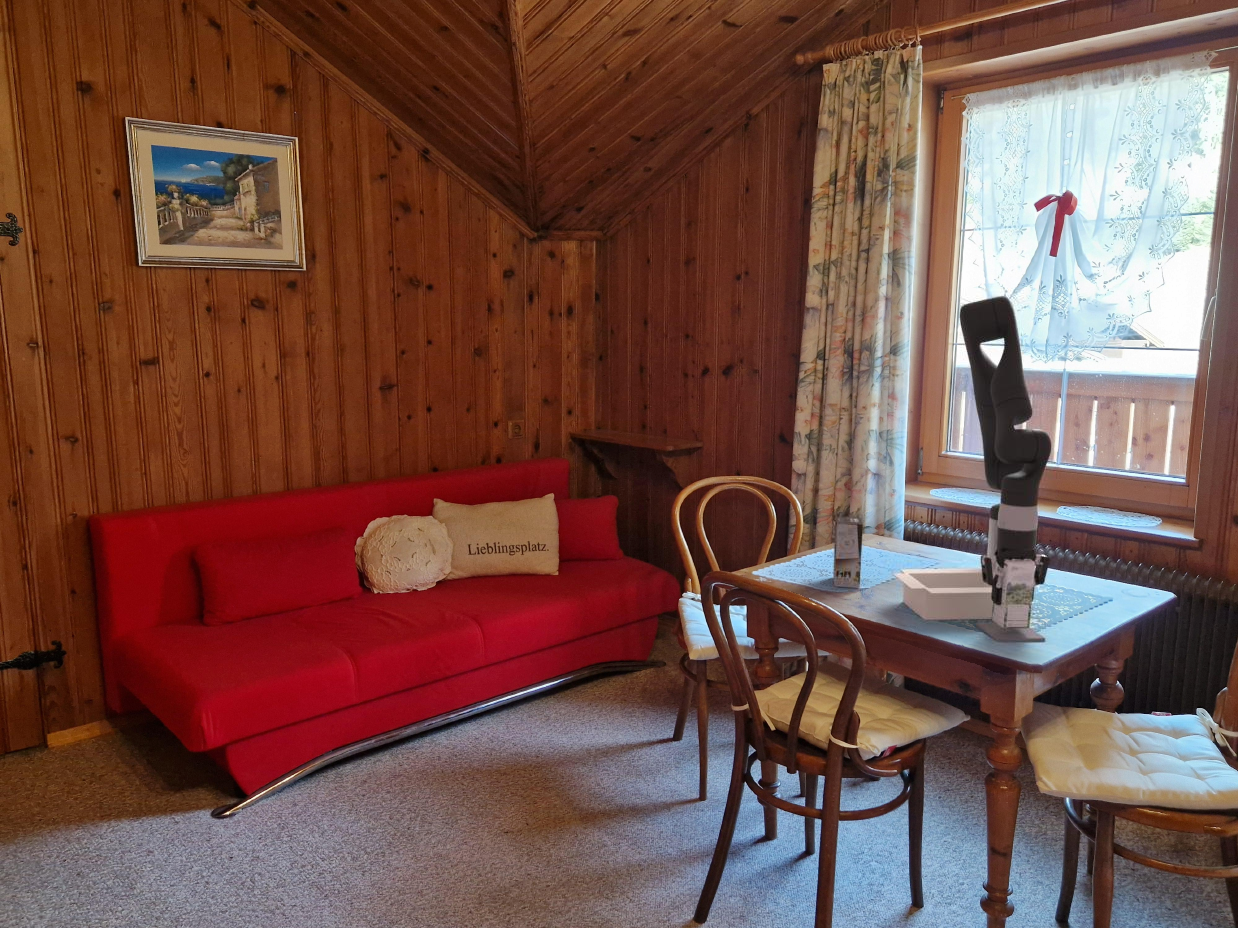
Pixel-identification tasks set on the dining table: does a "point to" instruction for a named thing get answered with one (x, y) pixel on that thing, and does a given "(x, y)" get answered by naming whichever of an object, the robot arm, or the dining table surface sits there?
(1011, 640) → the coaster
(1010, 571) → the syrup box
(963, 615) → the carton
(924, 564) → the dining table surface
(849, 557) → the coffee box
